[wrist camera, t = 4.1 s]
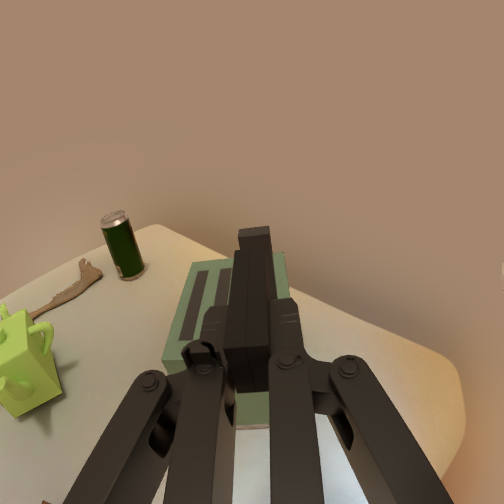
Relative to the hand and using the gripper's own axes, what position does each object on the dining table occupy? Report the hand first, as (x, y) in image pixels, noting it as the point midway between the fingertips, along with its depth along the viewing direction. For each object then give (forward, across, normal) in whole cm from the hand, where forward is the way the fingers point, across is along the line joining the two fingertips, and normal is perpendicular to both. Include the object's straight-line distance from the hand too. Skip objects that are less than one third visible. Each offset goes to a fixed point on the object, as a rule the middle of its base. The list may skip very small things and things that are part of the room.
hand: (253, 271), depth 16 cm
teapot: (+4, -33, -19) cm, 38 cm away
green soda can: (+32, -26, -19) cm, 46 cm away
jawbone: (+28, -42, -19) cm, 54 cm away
